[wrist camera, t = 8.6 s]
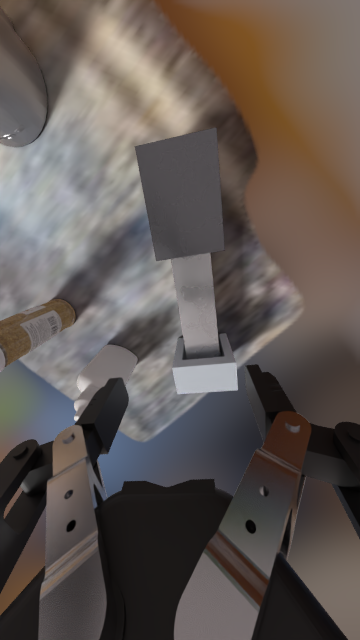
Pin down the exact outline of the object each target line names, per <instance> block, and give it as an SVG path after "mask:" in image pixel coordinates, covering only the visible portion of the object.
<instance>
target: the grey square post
mask: <svg viewBox="0 0 360 640" xmlns="http://www.w3.org/2000/svg"><path fill="white" fill-rule="evenodd" d="M171 264H172V270H173V276H174V282H175V289H176V295H177V301H178V307H179V313H180V320H181V326H182V332H183V338H184V344H185V351H186V357H187V360H190V359H201V358H213V357H220V352H219V341H218V330H217V319H216V308H215V297H214V287H213V276H212V265H211V254H210V253H205V254H199V255H192V256H186V257H179V258H173V259H171Z"/></svg>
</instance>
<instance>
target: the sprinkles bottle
mask: <svg viewBox="0 0 360 640" xmlns="http://www.w3.org/2000/svg"><path fill="white" fill-rule="evenodd" d="M75 317H76V316H75V311H74V309H73V307H72V306H71V305H70V304H69V303H68V302H66V301H64V300H61V299H53V300H50V301H49V302H47V303H45V304H42V305H40V306H36V307H33V308H31V309H28V310H26V311H23V312H21V313H18V314H16V315H14V316H11V317H9V318H6V319H4V320H2V321H0V372H1V371H2V370H3V369H4V367H6V366H7V365H9V364H10V363H12V362H13V361H15V360H17V359H18V358H20V357H22V356H23V355H26V354H27V353H29V352H31V351H32V350H34V349H35V348H37V347H38V346H40V345H41V344H43V343H45V342H46V341H48V340H49V339H51V338H52V337H54V336H55V335H57V334H58V333H59V332H61V331H62V330H64V329H65V328H68V327H70V326H71V325H73V323H74V322H75Z"/></svg>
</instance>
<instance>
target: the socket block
mask: <svg viewBox="0 0 360 640" xmlns="http://www.w3.org/2000/svg"><path fill="white" fill-rule="evenodd" d="M219 340H220V351H221V352H220V357H213V358H201V359H190V360H187V357H186V351H185V344H184V338H178V341H177V346H176V351H175V356H174V361H173V367H172V369H173V374H174V379H175V385H176V390H177V394H188V393H202V392H217V391H231V390H238V386H237V369H236V361H235V358H234V355H233V352H232V349H231V346H230V343H229V341H228V338H227V335H226V333H223V334H219Z"/></svg>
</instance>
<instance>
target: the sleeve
mask: <svg viewBox="0 0 360 640" xmlns="http://www.w3.org/2000/svg"><path fill="white" fill-rule="evenodd" d="M135 150H136V155H137V160H138V166H139V171H140V176H141V182H142V187H143V192H144V198H145V203H146V209H147V214H148V219H149V225H150V230H151V235H152V241H153V246H154V251H155V257H156V261H160V260H167V259H173V258H179V257H186V256H192V255H199V254H205V253H211V252H218V251H224V250H225V247H224V232H223V217H222V202H221V187H220V173H219V158H218V143H217V128H211V129H207V130H203V131H199V132H194V133H190V134H186V135H182V136H177V137H173V138H169V139H165V140H161V141H156V142H152V143H148V144H144V145H139V146H135Z"/></svg>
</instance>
